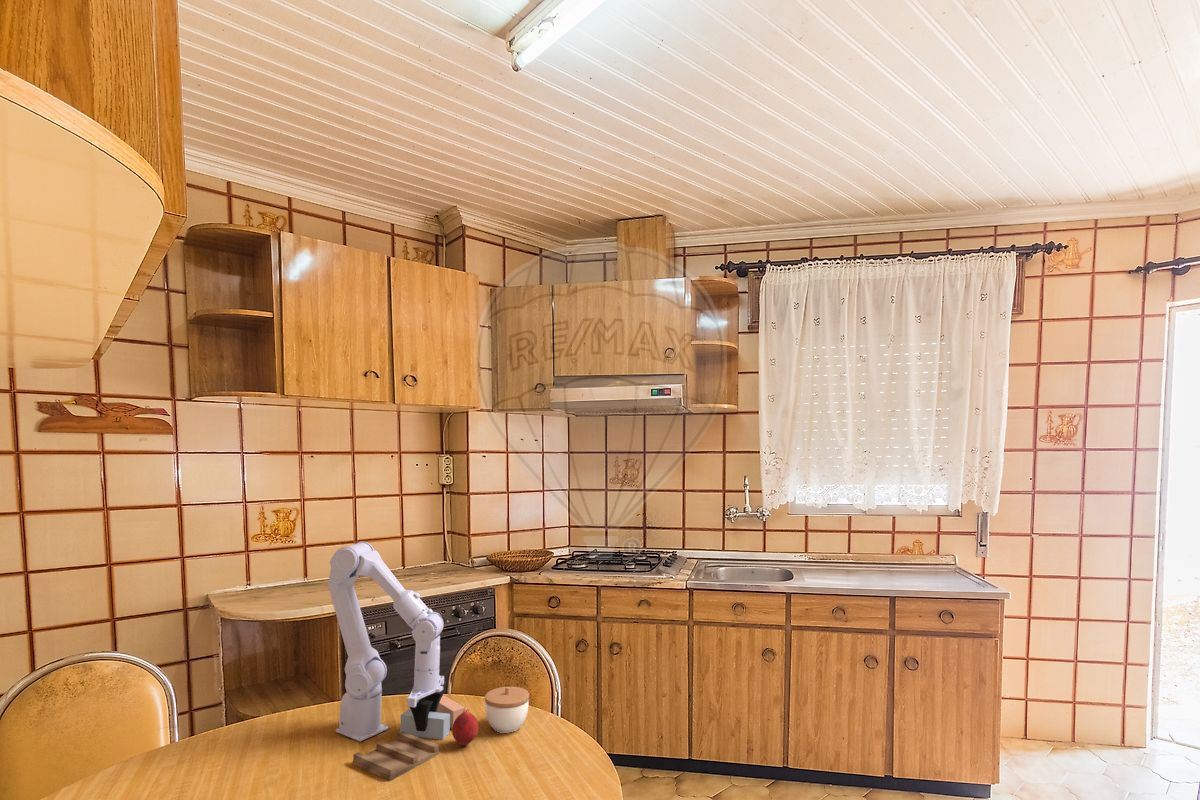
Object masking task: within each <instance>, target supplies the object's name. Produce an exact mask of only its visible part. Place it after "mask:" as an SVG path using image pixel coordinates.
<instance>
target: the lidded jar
mask: <svg viewBox="0 0 1200 800" xmlns="http://www.w3.org/2000/svg"><path fill="white" fill-rule="evenodd" d="M529 700H530V692H529V691H528V690H527V689H525V688H524V687H520V686H501V687H497V688H493V689H490V690H489V691H487V693H486V694H485V695H484V709H485V716H486V717H485V718H486V720H487V722H488V724H489V726H491V728H493V730H494V732H496V731H497V732H496V733H498V732H501V733H500V734H503V733H507V734H509V733H508V732H512V733H514V732H513V731H515V730H517V729H518V728H519V729H520V727H522V725H523V723H525V721H526V719H527V716H528V712H529V702H530V701H529ZM519 729H518V730H519ZM518 730H517V731H518ZM515 732H516V731H515Z"/></svg>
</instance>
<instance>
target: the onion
mask: <svg viewBox="0 0 1200 800" xmlns="http://www.w3.org/2000/svg"><path fill="white" fill-rule="evenodd" d="M478 721H479V720H478V719H477V718H476V716H475V715H474V714H473V713H471V712H470V709H469V708H468V707H465V709H464V711H463V713H462V714H460V715H459V716H458V717H457V718H456V720H455V721H454V724H453V728H452V729H451V733H452V736H453V739H454V740H455V741H456V742H457V743H458V744H460V745H461V746H463V747H467V746H468V745H469V744H470V743H471V742H472V741H473V740H474V739H475V738H476V737H477V735H478V732H479V722H478Z"/></svg>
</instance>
